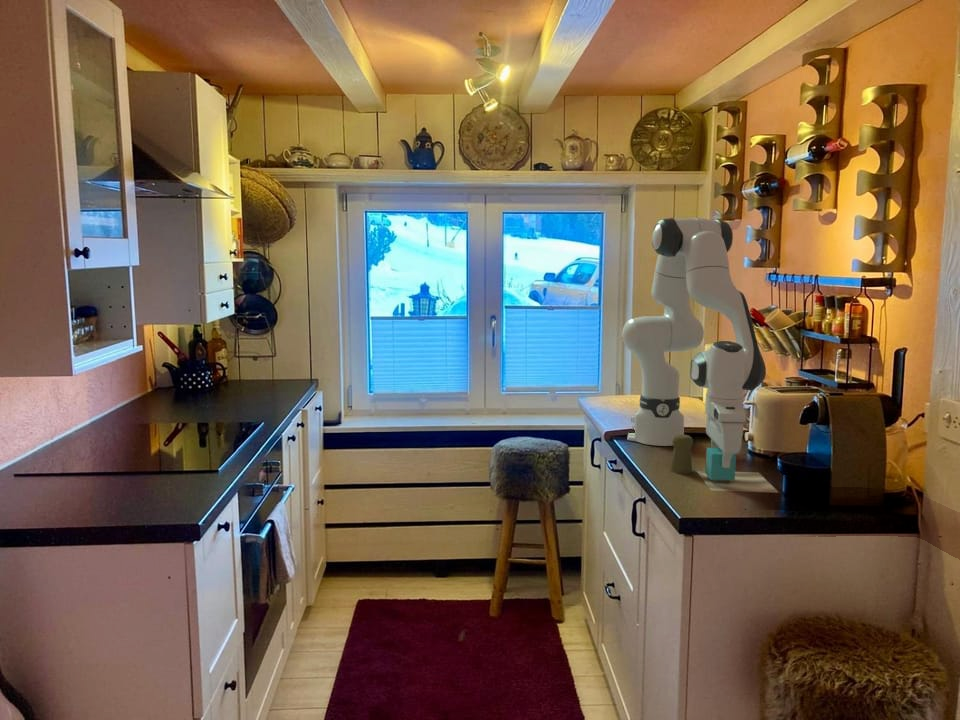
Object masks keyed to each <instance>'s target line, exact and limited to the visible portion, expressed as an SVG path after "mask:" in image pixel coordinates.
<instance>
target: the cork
mask: <svg viewBox="0 0 960 720" xmlns="http://www.w3.org/2000/svg"><path fill="white" fill-rule="evenodd" d="M672 443H673V445H672V446H673V452H672V458H671V463H670V468H669V470H670V471H671V473H675V474H683V475H687V474H691V473H693V466H692V464H693V463H692V451H691V448H692V447H693V444H694V440H693V438H692V436H690V435H688V434H684V435H683V434H680V435H675V436H674V437H673V440H672Z"/></svg>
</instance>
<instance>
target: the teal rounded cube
mask: <svg viewBox="0 0 960 720" xmlns="http://www.w3.org/2000/svg"><path fill="white" fill-rule="evenodd" d="M722 452H723V451H722V450H721V449H720V448H712V447H706V454H705V470H704V471H705V473H706V474H707V476H708V477H709V478H710V480H731V481H735V472H736V467H737V466H736V465H737V464H736V463H737V454H733V456H732V459H731V461H730V467H729V468H723V467H722V465H721V459H722V458H723V454H722Z"/></svg>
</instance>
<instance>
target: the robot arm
mask: <svg viewBox="0 0 960 720" xmlns="http://www.w3.org/2000/svg"><path fill="white" fill-rule="evenodd" d="M733 238H734V234H733V229H732V227H731V224H729V223H728V222H726V221H723V220H720V219H708V218H701V217H692V218H690V217H683V218H672V217H668V218H667V217H666V218H662V219H660V220H658V222H657V223H656V224H655V225H654V228H653V231H652V236H651V241H652V248H653V250H654V251H655V252H656V253H657V254H658V256H657V260H656V262H655V268H654V275H653V279H652V286H651V291H650V293H651V296H652V299H653V301H655V303H657V304H658V305H660V306H661V307H663V308H664V309H663V310H664V313H663V315H658V316H657V315H652V316H651V315H650V316H649V315H648V316H645V315H643V316H638V317H633V318H631V319H628V320H627V321H626V322H625V324H624V325H623V328H622V331H621V337H622V338H621V339H622V343H624V346H625V347H626V348H627V349H628V350H629V351H630V352H631V353H632V354H633V355H634V357H636V359H637V361H638V363H639V366H640V369H641V370H640V371H641V394H640V396H639V397H640V398H639V406H640V407H639V409H638V410H637V412H636V413H635V415H632V416H631V420H630V424H633V425H632V426H631V427H632V429H634V430H635V433H629V432H628V434H627V441H632V442H637V443H640V444H643V445H650V446H659V447H663V446H664V447H667V446H668V447H669V446H670V447H671V446H673V443H672V440H673V437H674V436H675V435H680V434H683V435H685V428H684V427H685V424H684V423H685V416H684V414H683V413H682V412H681V411H680V405H681V401H680V399H681V398H680V396H679V392H680V391H679V390H680V389H679V388H680V372H679V371H678V369H677V368H676V367H675V366H673V365H672V364H670V363H668V362H667V361H666V358H665V353H667V352H669V353H670V352H685V351H689V350H693V349H697V348H698V347H700V345H701V344H702V343H703V339H704V337H705V336H704V335H705V331H704V327H703V324H702V323H701V321H700V320H699V319H698V317H696V316H695V315H694V313H693V311H692V308H691V303H690V297H691V299H693V300H694V301H695V302H696V303H697V304H699V305H701V306H702V307H705V308H707V309H710V310H713V311H715V312H717V313H719V314H721V315H723V316H725V317H726V318H727V319H728V320H729V321H730V323H731V325H732V329H733V333H734V337H735V341H736V342H734V341H728V340H720V341H719V340H718V341H715V342H713V343H712V344H711V345H710V348H709V349H707V350H704V351H699V352H698V353H696V354H695V355H694V357H693V358H692V359H691V361H690V369H689V370H690V371H689V372H690V379H691V380H692V382H693V383H695V385H696V386H698V387H699V388H700V387H701V388H704V389H707V390H706V393H705V406H704V408H705V409H704V414H706V424H705V432H706V433H705V434H706V435H707V436H708V437H709V438H710V444H711V448H720V449H721V450H722V451H723V452H722V454H723V458H722V459H721V465H722V467H723V468H729V467H730V461H731V459H732V456H733V454H736V455H737V454H739V453H740V451H741V448H742V442H743V434H744V424H743V423H746V422H747V414H746V411H745V408H744V392H743V391H753V390H755V389H756V388H758V387H759V386H760V385H761V384H762V383H763V382H764V381H765V379H766V377H767V376H766V375H767V368H766V364H765V361H764V360H765V359H764V358H763V355H762V353H761V350H760V348H759V344H758V340H757V336H756V333H755V328H754V324H753V321H752V316H751V313H750V308H749V305H748V302H747V299H746V295H745V294H744V293H743V292H741V290H739V289H738V288H737V287H736V285H735V284H734V281H733V280H732V278H731V277H732V276H731V274H730V263H729V256H728V252H729V251H730V249H731V248H732V245H733V241H734V239H733Z"/></svg>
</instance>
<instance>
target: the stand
mask: <svg viewBox="0 0 960 720" xmlns="http://www.w3.org/2000/svg"><path fill="white" fill-rule="evenodd" d="M696 473H698V475H699V476H700V478H701V479H702V481H703V482H704V484H705V485H706V486H707V487H708V488H709V490H710V491H713V492H714V491H718V492H742V493H743V492H745V493H747V492H748V493H750V492H751V493H774V494H777V493H778V494H779V491H778V490H777V489H776V488H775V487H774V486H773V485H772V484H771V483H770V482H769V481H768V480H767V479H766V478H765V477H764V476H763V475H762V474H761V473H760V472H755V471H754V472H750V471H749V472H748V471H735V481H731V480H710V478H709V477H708V476H707V474H706V473H705V470H696Z"/></svg>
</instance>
